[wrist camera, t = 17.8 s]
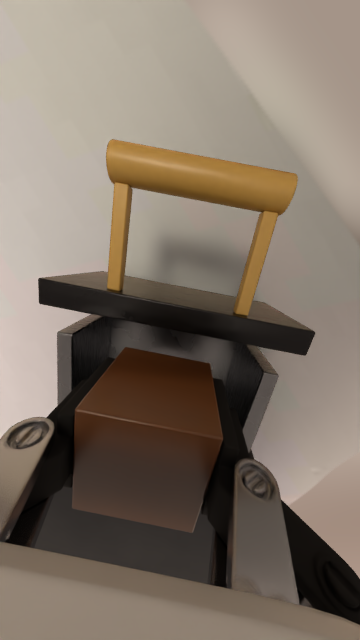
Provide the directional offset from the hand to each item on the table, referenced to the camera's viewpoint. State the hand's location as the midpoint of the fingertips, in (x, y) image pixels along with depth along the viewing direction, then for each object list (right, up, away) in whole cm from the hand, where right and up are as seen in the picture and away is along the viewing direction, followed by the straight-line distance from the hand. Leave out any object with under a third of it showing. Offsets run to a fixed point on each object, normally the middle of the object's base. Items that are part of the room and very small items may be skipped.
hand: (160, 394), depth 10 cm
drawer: (+1, +2, +6) cm, 6 cm away
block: (0, 0, 0) cm, 0 cm away
